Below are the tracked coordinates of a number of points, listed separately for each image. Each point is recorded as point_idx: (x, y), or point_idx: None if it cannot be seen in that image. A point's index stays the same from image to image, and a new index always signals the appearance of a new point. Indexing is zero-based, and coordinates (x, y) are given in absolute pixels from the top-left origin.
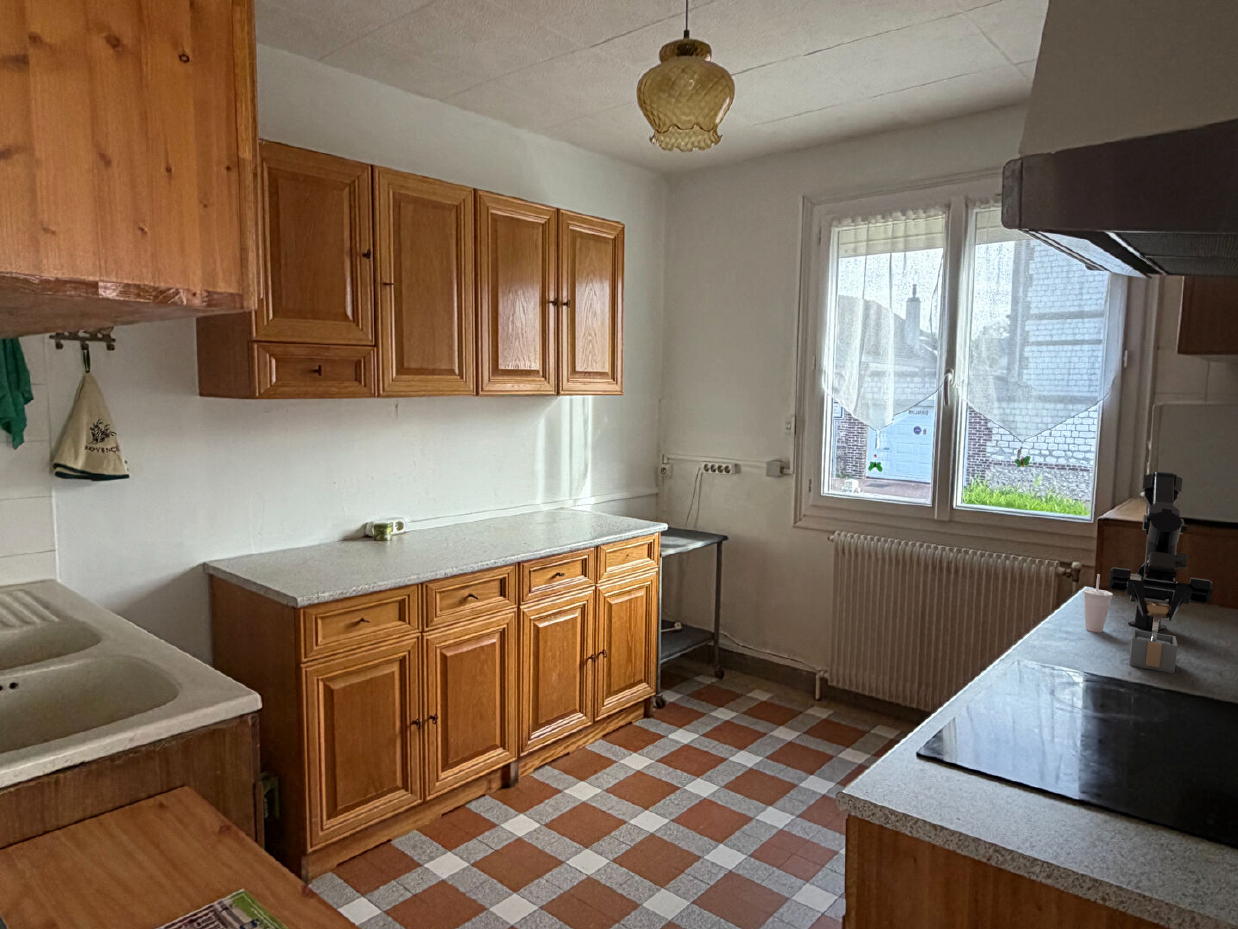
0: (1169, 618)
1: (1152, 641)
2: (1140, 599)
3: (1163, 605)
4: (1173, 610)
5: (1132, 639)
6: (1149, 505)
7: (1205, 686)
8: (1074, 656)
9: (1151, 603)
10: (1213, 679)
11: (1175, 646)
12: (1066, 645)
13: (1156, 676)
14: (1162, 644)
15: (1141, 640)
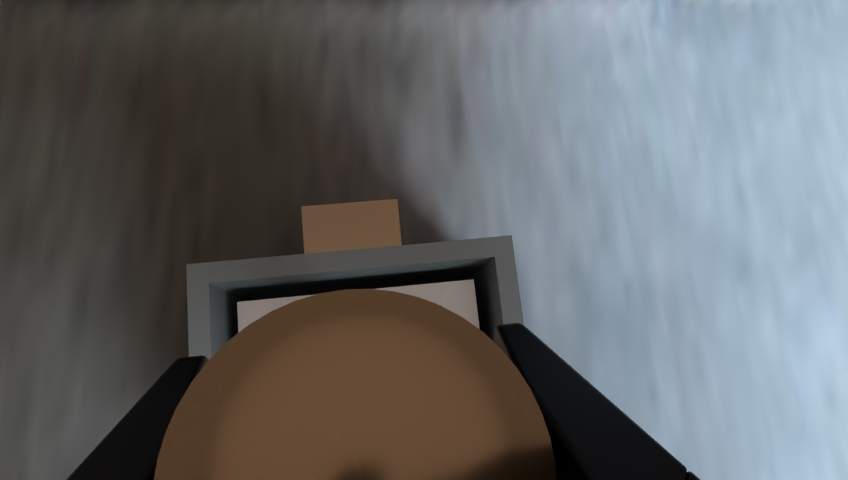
0: (206, 360)
1: (371, 256)
2: (664, 473)
3: (267, 475)
4: (117, 449)
5: (510, 254)
6: None
7: (88, 166)
8: (739, 216)
9: (465, 458)
10: (30, 347)
11: (202, 263)
12: (833, 419)
13: (329, 161)
14: (298, 255)
15: (448, 243)
